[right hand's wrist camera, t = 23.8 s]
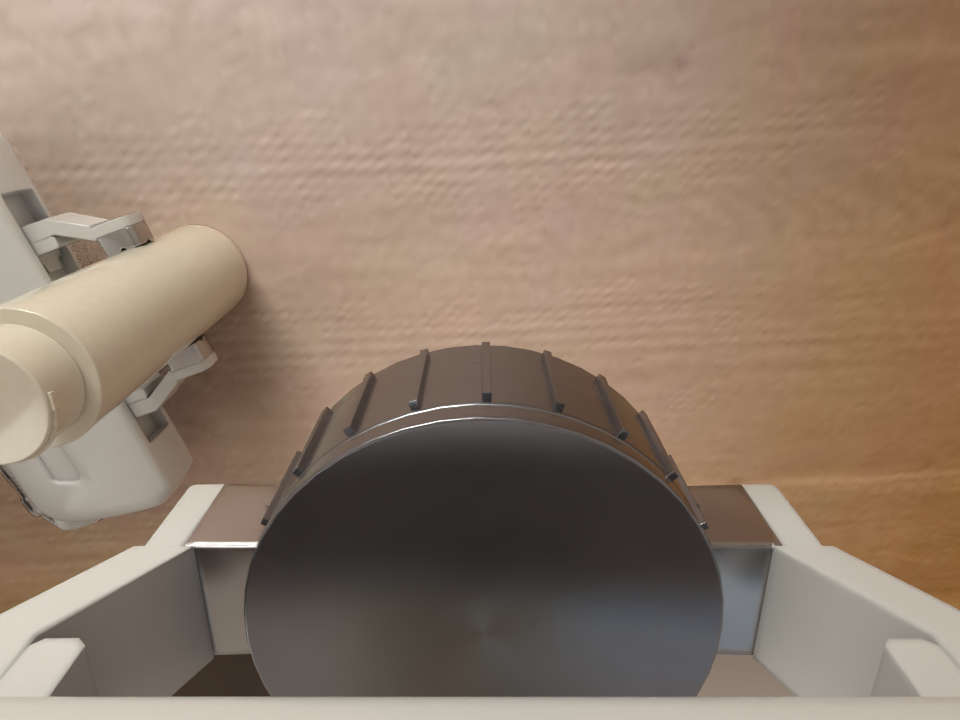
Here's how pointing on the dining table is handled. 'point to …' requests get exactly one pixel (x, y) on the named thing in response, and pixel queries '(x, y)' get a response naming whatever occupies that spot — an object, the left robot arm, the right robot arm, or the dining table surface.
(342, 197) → the dining table surface
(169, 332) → the jar
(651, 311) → the dining table surface
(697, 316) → the dining table surface
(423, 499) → the lid
